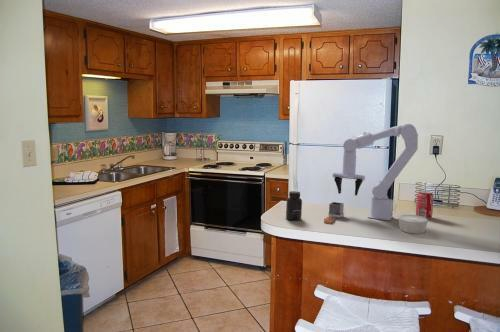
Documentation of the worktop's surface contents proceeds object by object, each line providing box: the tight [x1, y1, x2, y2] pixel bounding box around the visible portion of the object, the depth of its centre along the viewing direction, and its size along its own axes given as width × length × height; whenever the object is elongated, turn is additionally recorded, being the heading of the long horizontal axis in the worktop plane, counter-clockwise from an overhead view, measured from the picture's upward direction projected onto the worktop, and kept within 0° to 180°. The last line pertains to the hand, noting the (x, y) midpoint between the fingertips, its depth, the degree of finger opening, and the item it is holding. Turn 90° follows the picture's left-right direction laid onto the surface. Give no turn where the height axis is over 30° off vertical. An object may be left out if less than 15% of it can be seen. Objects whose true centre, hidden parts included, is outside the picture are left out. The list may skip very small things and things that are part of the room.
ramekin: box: [397, 214, 429, 235], centre depth 168 cm, size 11×11×5 cm
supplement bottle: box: [285, 190, 303, 222], centre depth 182 cm, size 7×7×12 cm
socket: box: [328, 201, 345, 215], centre depth 188 cm, size 5×5×4 cm
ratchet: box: [323, 212, 345, 225], centre depth 184 cm, size 16×7×4 cm, turn 152°
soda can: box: [415, 190, 435, 220], centre depth 189 cm, size 7×7×12 cm
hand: (347, 194), depth 192 cm, fingers open, 7 cm apart
